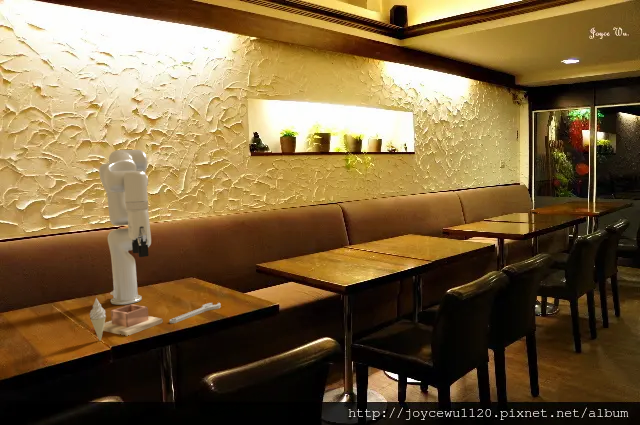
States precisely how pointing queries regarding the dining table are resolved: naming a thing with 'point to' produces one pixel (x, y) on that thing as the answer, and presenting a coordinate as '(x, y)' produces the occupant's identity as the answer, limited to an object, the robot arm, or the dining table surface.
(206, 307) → the adjustable wrench
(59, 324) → the dining table surface
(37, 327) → the dining table surface
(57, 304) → the dining table surface
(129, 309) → the cone stand
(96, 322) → the ice cream cone
